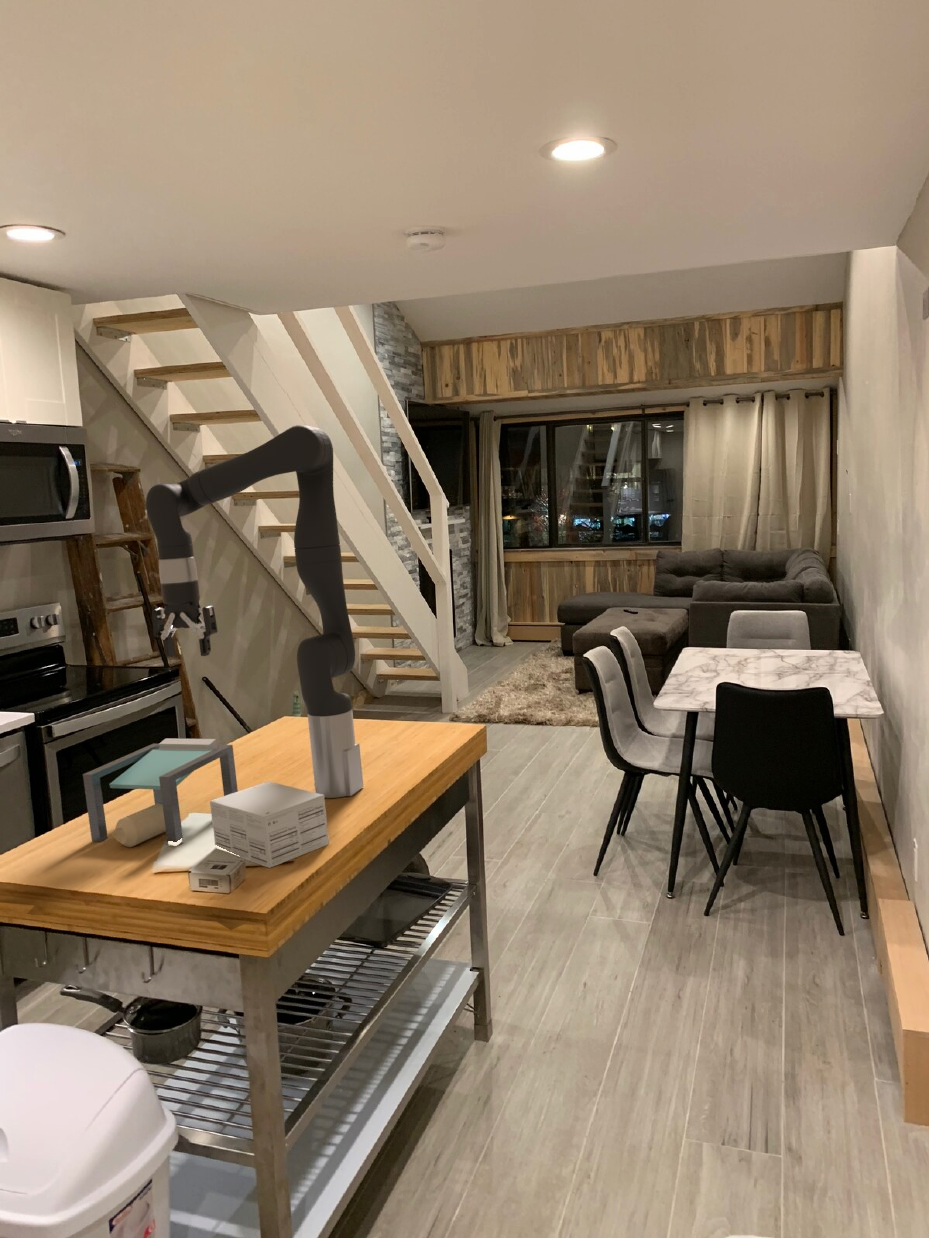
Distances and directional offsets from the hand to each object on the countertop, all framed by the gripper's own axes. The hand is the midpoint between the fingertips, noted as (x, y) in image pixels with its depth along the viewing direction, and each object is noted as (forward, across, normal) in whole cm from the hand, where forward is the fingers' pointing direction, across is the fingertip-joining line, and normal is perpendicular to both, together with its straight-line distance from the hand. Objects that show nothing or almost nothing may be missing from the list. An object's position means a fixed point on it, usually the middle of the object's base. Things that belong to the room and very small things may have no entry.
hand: (188, 656), depth 196 cm
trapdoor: (+20, -4, +16) cm, 26 cm away
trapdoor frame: (+30, -4, +18) cm, 35 cm away
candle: (+27, -6, +22) cm, 35 cm away
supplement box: (+30, -32, +26) cm, 51 cm away
